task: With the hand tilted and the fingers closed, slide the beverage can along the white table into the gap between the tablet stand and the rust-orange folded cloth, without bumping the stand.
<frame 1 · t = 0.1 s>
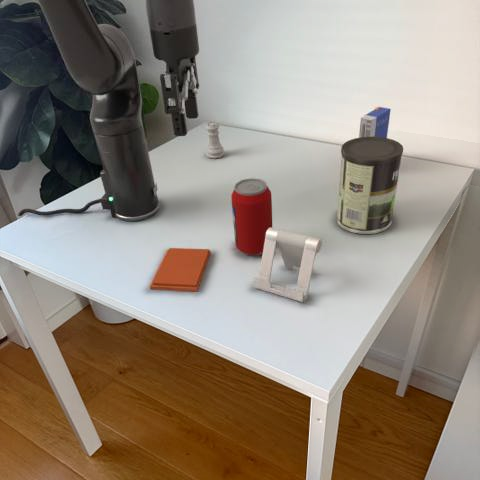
hand: (187, 126, 87), 17 cm above the table, tool pointing down, fingers open, 8 cm apart
beverage can: (254, 248, 87), on the table
tablet stand: (288, 284, 78), on the table
folded cloth: (182, 271, 83), on the table
coffee can: (363, 221, 91), on the table
walkman: (369, 167, 109), on the table
rook chess piece: (215, 156, 119), on the table
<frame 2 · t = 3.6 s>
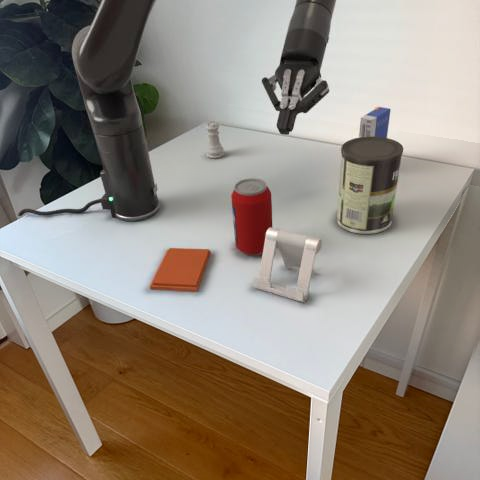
hand: (283, 132, 87), 15 cm above the table, tool tilted 45°, fingers closed
nothing on the table moved.
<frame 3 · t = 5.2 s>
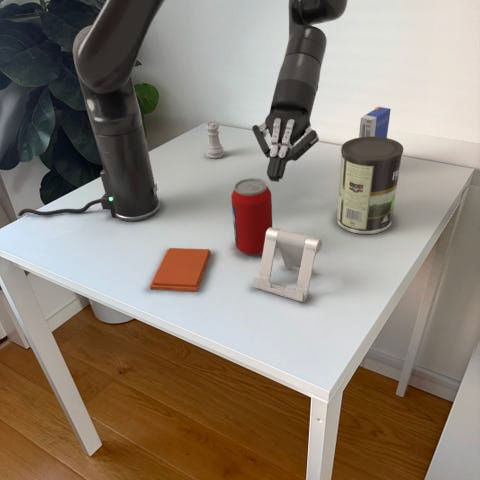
hand: (273, 179, 88), 8 cm above the table, tool tilted 45°, fingers closed
nothing on the table moved.
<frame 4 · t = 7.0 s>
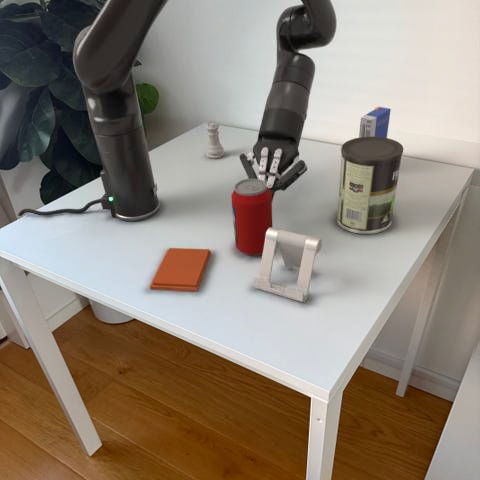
hand: (261, 210, 86), 5 cm above the table, tool tilted 45°, fingers closed
beverage can: (254, 248, 87), on the table, touching gripper
everything else where it was.
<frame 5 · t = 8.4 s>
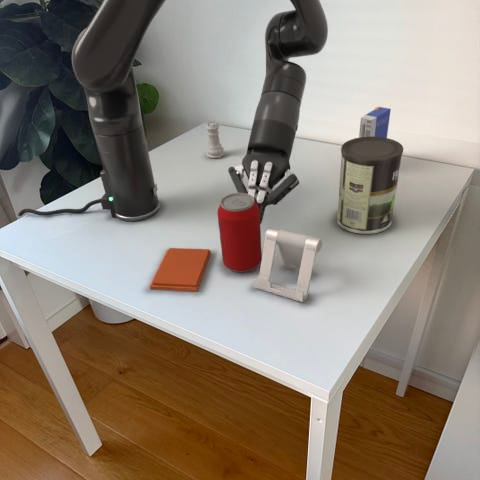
hand: (251, 226, 82), 5 cm above the table, tool tilted 45°, fingers closed
beverage can: (242, 264, 83), on the table, touching gripper
everything else where it was.
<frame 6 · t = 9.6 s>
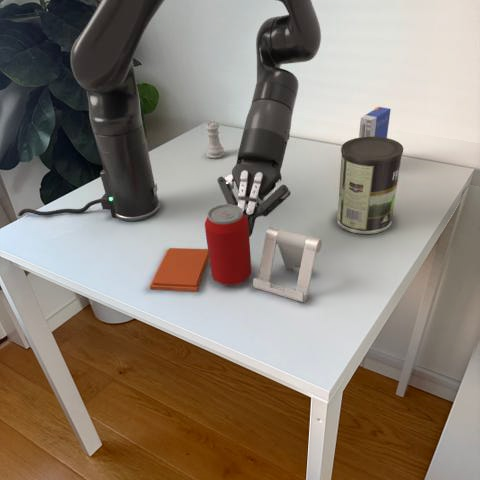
hand: (241, 238, 80), 5 cm above the table, tool tilted 45°, fingers closed
beverage can: (232, 277, 81), on the table, touching gripper
everything else where it was.
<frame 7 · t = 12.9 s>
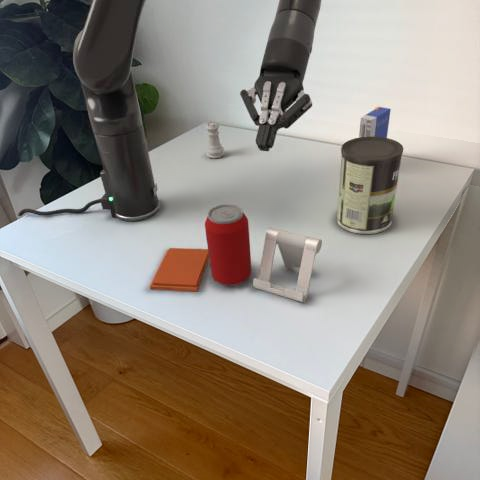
hand: (263, 149, 81), 16 cm above the table, tool tilted 45°, fingers closed
beverage can: (231, 277, 81), on the table
everything else where it was.
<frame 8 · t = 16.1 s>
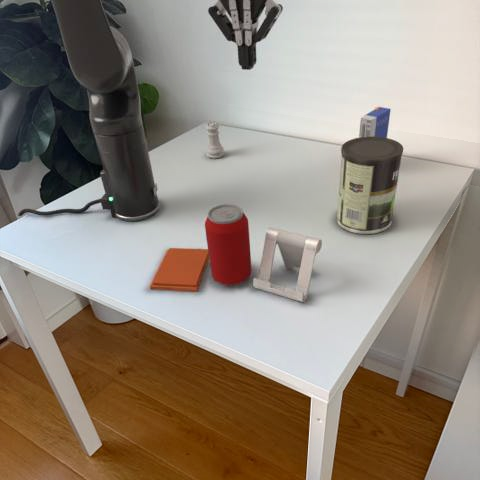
hand: (248, 68, 84), 25 cm above the table, tool pointing down, fingers closed
nothing on the table moved.
at the end: beverage can inside the target area (0.3 cm from its centre), on the table; beverage can tilted 0°; tablet stand moved 0.2 cm from its start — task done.
